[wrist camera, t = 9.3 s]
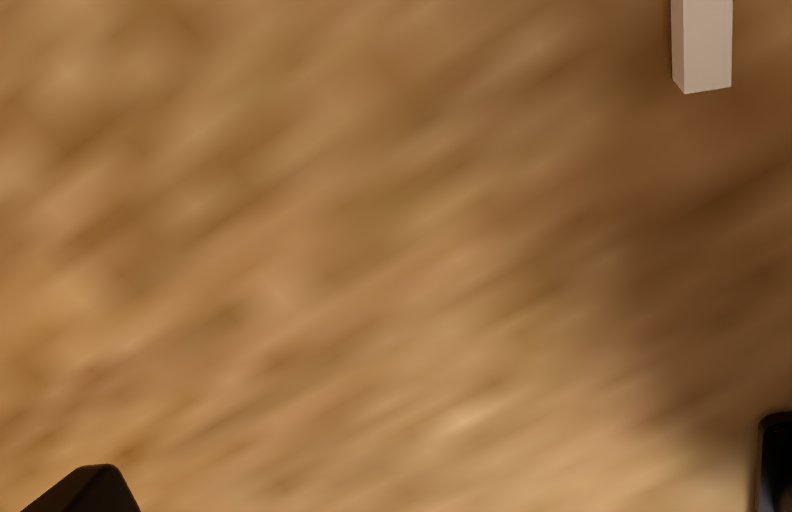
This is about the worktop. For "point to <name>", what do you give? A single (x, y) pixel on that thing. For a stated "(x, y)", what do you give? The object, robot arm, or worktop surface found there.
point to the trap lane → (701, 44)
